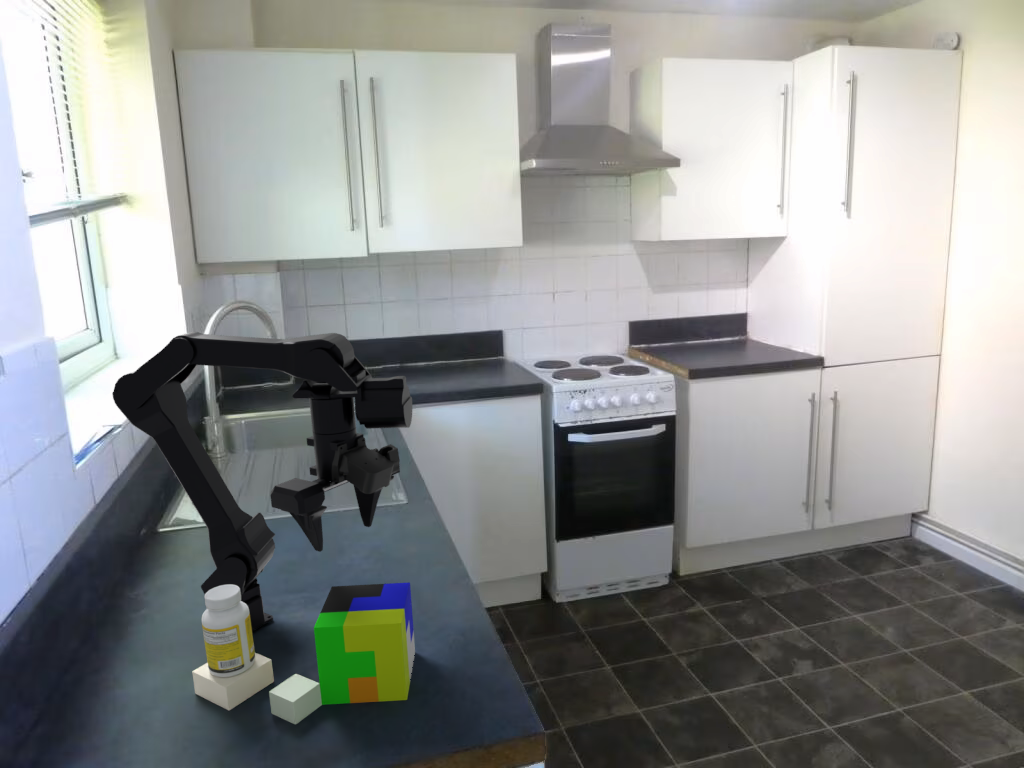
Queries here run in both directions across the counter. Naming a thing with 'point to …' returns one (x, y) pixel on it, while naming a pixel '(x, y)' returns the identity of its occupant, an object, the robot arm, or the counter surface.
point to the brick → (295, 698)
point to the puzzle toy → (365, 643)
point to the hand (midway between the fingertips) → (344, 538)
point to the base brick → (233, 683)
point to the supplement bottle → (227, 632)
